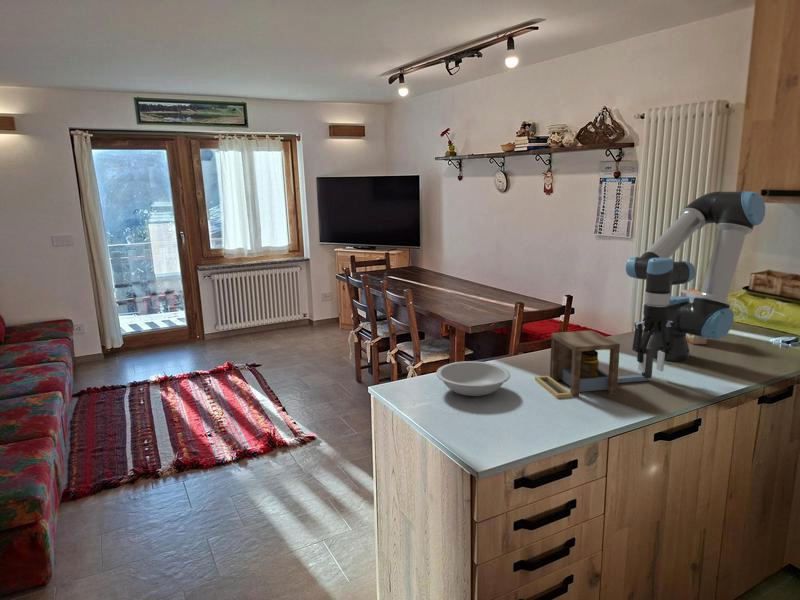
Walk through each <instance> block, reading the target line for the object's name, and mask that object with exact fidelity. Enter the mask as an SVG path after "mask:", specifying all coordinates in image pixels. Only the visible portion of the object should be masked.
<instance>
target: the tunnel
mask: <svg viewBox="0 0 800 600" xmlns="http://www.w3.org/2000/svg"><path fill="white" fill-rule="evenodd" d="M550 340H551V342H550V360H549V361H550V362H549V363H550V365H549V366H550V369H549V371H550V372H549V376H550V377H551V378H552V379H554V380H555V381H556V382H557V381H559V380H560V381H562V373H563V369H571V386H570V388H569V389H570V390H569V392H570V393H572V396H573V397H572V398H576V397H577V398H579V397H580V392H579V387H580V368H581V351H592V350H595V351H603V350H609V363H608V364H609V365H608V375H609V377H608V389H607V392H608V393H609V394H617V392H618V383H617V381H618V376H619V365H620V364H619V362H620V361H619V360H620V349H621V348H620V347H621V343H619V342H618V341H615V340H613V339H611V338H609V337H607V336H605V335H603V334H601V333H599V332H597V331H594V330H591V329H590V330H576V331H561V332H551V339H550Z"/></svg>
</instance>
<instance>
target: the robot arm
mask: <svg viewBox="0 0 800 600" xmlns="http://www.w3.org/2000/svg"><path fill="white" fill-rule="evenodd" d="M765 205H766V204H765V200H764V198H763V196H762V195H761V194H760V192H759V193H758V192H756V191H748V190H743V191H713V192H708V193H705V194H704V195H703V194H702V195H701V196H699V197H697V198H695V199H694V200H692V201H691V202H690V203H689V204H688V205H686V206H685V207H684V208H683V209H682V210H681V211H680V213H679V217H678V218H677V219H676V220H675V221H674V222H673V223H672V224H671V225H670V226H669V228H667V229H666V230H665V231H664V233H663V234H661V235H660V236H659V238H657V239H656V241H654V242H653V244H651V246H650V247H648V249H646V250H645V251H644V253H643V254H642V255H641V256H633V257H630V258H629V259H628V260H627V262H626V264H625V272H626V274H627V276H628V277H630V278H634V279H638V280H645V281H646V282H645V291H644V293H645V294H644V305H643V312H642V313H643V319H642V321H640V322H639V321H638V322H636V321H635V322H634V335H633V336H634V337H633V341H632V342H633V343H632V351H634V352H635V353H637V358H636V361H637V363H638V368H637V370H638V371H639V372H641V374H642V373H645V365H646V354H645V350H646V347H651V348H654V354H653V359H656V368H655V369H656V370H658V371H660V372H664V369H665V368H664V367H665V362H667V361H671V362H677V361H679V362H680V361H686V360H688V359H690V355H691V354H690V352H691V351H690V348H689V345H688V344H689V343H688V341H687V340H686V333H687V334H691V335H696V336H700V337H704V338H708V339H709V340H720V339H723V338H724V337H725V336H727V334H729V332H730V330H731V329H732V326H733V324H734V320H735V318H734V316H735V314H734V311H732V309H730V308H731V304H730V302H729V301H728V298H729V294H730V290H731V286H732V284H733V279H734V277H735V274H736V270H737V268H738V263H739V260H740V256H741V253H742V250H743V246H744V243H745V240H746V236H747V235H749V234H750V233H752V232H753V230H754V226H755V227H756V226H759V225H761V224H762V222H763V220H765V216H766V206H765ZM708 224H709V225H710V224H715V227H716V229H717V230H718V231H717V237H716V239H715V242H714V246H713V249H712V253H711V256H710V260H709V263H708V267H707V271H706V273H705V276H704V280H703V284H702V287H701V291H700V292H701V294H700V295H698V296H696V297H695V298H694V301H693V303H691V302H689V301H690V300H689V298H688V297H684V296H681V295H680V296H679V295H677V296H676V295H675V296H672V295H671V289H672V288H671V287H672V286H675V285H684V284H687V283H690V282H691V281H693V279H695V277H696V274H697V273H696V272H697V271H696V267H695V265H694V264H693V263H692V262H690V261H686V260H685V261H684V260H680V261H674V260H673V259H672V258H671V256H673V255H674V254H675V252H676V251H677V250H678V249H680V247H681V246H682V245H684V243H685V242H687V240H688V239H689V238H690V237H692V235H693V234H694V233H695V232H696V231H697V230H701V229H702V228H704V226H705V225H708Z"/></svg>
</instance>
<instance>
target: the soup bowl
mask: <svg viewBox="0 0 800 600" xmlns="http://www.w3.org/2000/svg"><path fill="white" fill-rule="evenodd" d="M435 374H436V377H437V378H438V379H439V380H440V381H442V382H443V384H444V385H445V386H446V387H447V388H448V389H449V390H450V391H452V392H455V393H456V394H459V395H462V396H469V397H472V396H473V397H480V396H487V395H490V394H492V393H494V392H495V391H497V390H499V389H500V388H501V387H502V386H503V384H504V383H506V382H507V381H509V379H510V378H511V372H510V370H508V368H505V367H504V366H501V365H499V364H496V363H490V362H487V361H486V362H485V361H473V360H469V361H468V360H467V361H455V362H451V363H447V364H444V365H442V366H440V367H439V368H437V370H436V373H435Z"/></svg>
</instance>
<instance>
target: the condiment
mask: <svg viewBox="0 0 800 600" xmlns="http://www.w3.org/2000/svg"><path fill="white" fill-rule="evenodd" d="M598 355H599V353H598V350H592V351H581V368H580V379H585V378H597V377H598V369H599V363H600V362H599V359H598V358H599V356H598Z"/></svg>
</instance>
